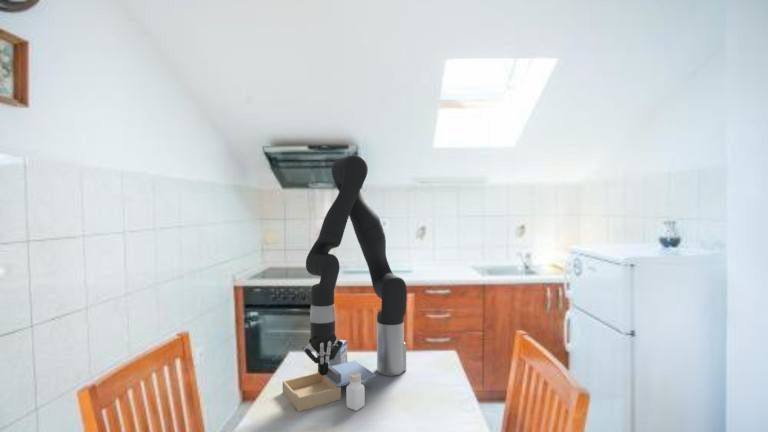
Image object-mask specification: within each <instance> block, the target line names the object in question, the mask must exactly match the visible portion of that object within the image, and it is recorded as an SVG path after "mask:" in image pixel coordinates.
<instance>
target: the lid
mask: <svg viewBox="0 0 768 432" xmlns="http://www.w3.org/2000/svg"><path fill="white" fill-rule="evenodd" d="M353 372H359V373H361V381H364V380H367V379H371V378H375V377H376V373H374V372H373V371H371V370H370V369H368V368H367V367H365V366H364V365H362V364H361V363H359V362H358V361H356V360H352V361H347V363H343V364H339V365H335V366H330V365H329V363H328V372H327V375H324V376H325V377H326V378H327V379H328V380H330V381H331V382H332V383H333V384H334V385H335V386H337V387H342V386H348V385H349V384H350V374H351V373H353Z"/></svg>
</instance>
